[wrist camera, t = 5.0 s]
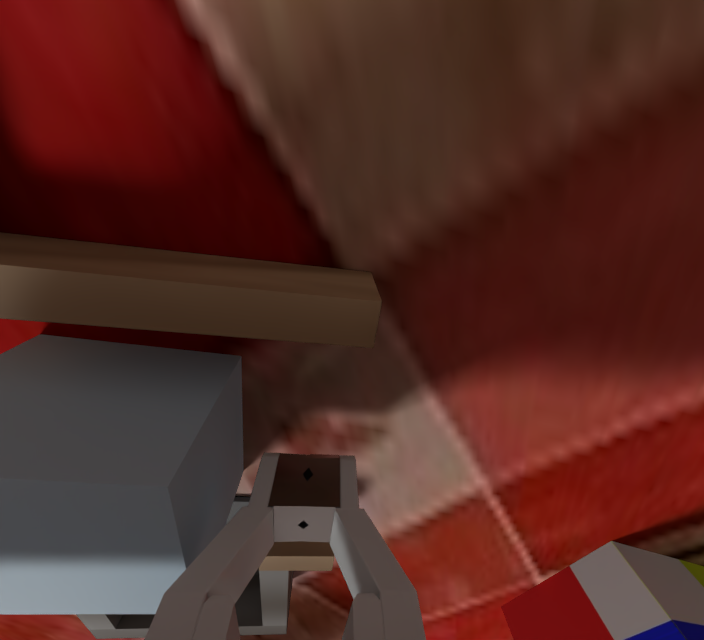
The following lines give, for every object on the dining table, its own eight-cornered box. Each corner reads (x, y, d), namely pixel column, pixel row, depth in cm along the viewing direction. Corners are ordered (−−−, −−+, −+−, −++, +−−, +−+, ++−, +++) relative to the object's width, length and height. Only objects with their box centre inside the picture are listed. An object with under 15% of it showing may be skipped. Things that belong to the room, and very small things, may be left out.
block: (45, 331, 8) (-224, 466, 4) (243, 353, 9) (167, 486, 5) (94, 457, 11) (-46, 614, 7) (244, 466, 12) (195, 614, 8)
